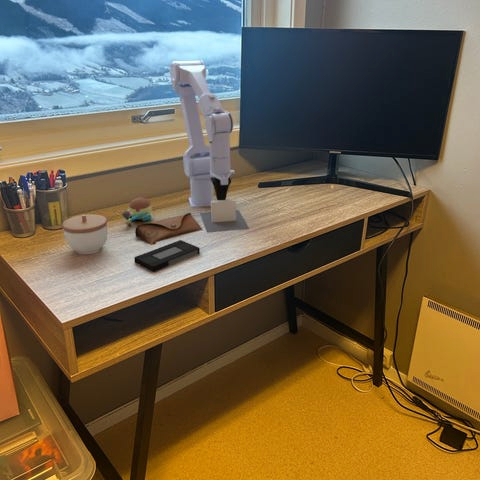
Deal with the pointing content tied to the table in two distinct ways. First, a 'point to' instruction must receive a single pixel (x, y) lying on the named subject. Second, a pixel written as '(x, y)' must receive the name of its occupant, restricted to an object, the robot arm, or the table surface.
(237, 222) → the mat
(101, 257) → the table surface
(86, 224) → the lidded jar
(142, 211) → the figurine
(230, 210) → the tile
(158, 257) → the vhs tape
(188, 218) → the sunglasses case
